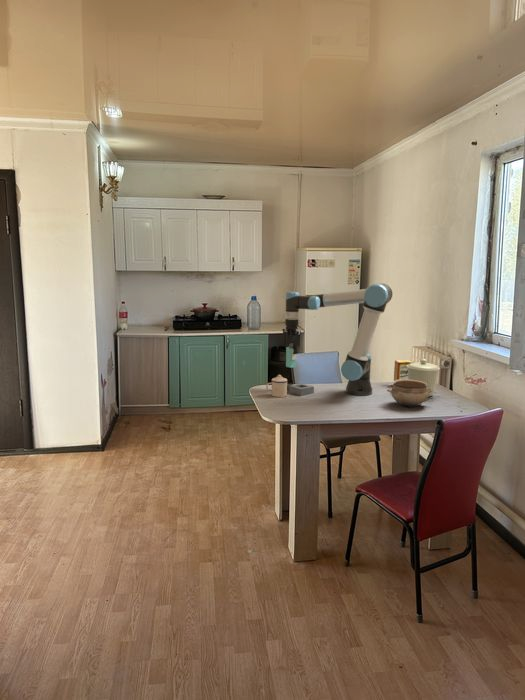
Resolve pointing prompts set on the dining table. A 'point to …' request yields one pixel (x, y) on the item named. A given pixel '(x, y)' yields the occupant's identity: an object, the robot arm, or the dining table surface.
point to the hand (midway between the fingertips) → (290, 358)
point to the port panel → (301, 389)
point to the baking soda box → (401, 369)
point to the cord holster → (288, 386)
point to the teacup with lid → (278, 386)
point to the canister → (424, 373)
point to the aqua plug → (290, 357)
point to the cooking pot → (409, 392)
